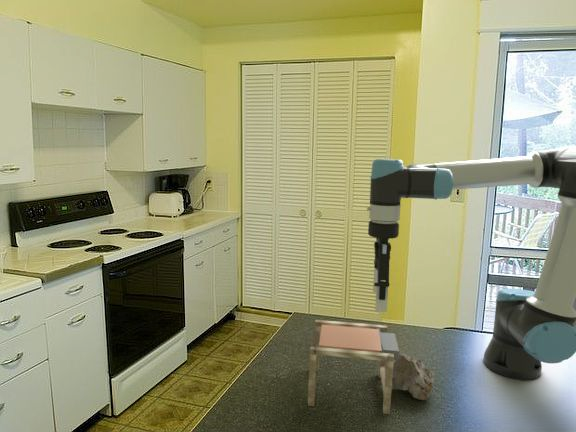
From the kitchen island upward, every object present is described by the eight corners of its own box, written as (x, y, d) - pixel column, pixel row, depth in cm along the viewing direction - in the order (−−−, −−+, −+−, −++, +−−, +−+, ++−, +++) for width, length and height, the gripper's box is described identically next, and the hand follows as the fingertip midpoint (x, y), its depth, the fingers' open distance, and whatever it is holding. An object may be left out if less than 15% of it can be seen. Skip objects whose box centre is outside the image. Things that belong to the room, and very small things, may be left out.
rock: (423, 416, 109) (449, 384, 110) (390, 388, 108) (416, 356, 108) (408, 399, 118) (432, 370, 119) (377, 373, 117) (401, 343, 117)
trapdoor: (393, 338, 118) (394, 329, 118) (399, 364, 105) (400, 353, 104) (321, 332, 121) (322, 323, 120) (318, 357, 107) (318, 346, 107)
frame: (383, 375, 122) (387, 325, 120) (389, 414, 105) (394, 356, 102) (313, 368, 125) (315, 319, 122) (307, 405, 107) (310, 349, 105)
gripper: (367, 212, 124) (363, 285, 128) (370, 229, 100) (365, 319, 103) (394, 213, 123) (390, 286, 126) (404, 231, 99) (398, 321, 102)
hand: (379, 301), depth 115 cm, fingers open, 13 cm apart
